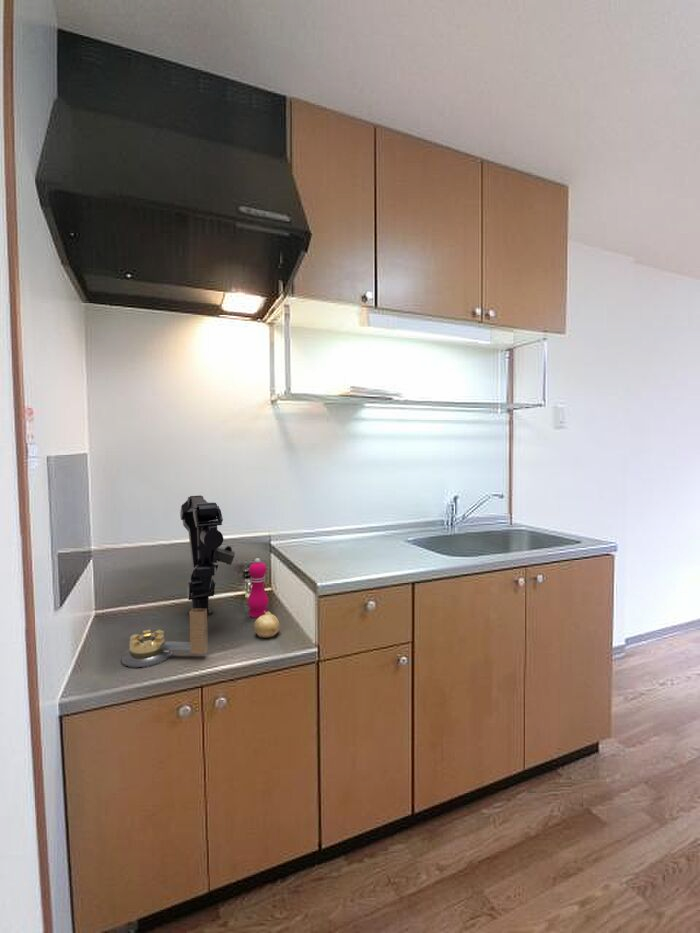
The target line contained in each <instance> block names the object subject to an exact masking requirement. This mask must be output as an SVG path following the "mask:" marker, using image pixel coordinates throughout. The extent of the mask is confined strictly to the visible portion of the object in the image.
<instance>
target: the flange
mask: <svg viewBox="0 0 700 933" xmlns="http://www.w3.org/2000/svg"><path fill="white" fill-rule="evenodd" d="M172 655H173V650H163V651H162V652H160V653H159V654H157V655H154V656H151V657H146V658H135V657H132V656H131V655H130V647H129V648H127V649H125V650H124V651H123V652H122V654H121V663H122V665H123V666H124V667H126V666H128V667H127V668H130V667H132V668H131V669H137V668H136V667H145V668H148V667H147V666H150V667H152V666H151V665H154V666H156V665H155V664H157V665H159V664H161V663H160V662H162V661H164V660H165V661H167V660H168V659H169V658H170V657H172ZM167 658H168V659H167ZM166 659H167V660H166ZM165 661H164V662H165ZM158 663H159V664H158ZM162 663H163V662H162Z"/></svg>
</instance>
